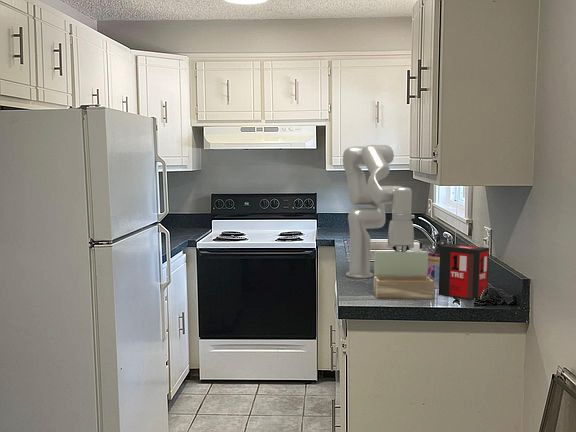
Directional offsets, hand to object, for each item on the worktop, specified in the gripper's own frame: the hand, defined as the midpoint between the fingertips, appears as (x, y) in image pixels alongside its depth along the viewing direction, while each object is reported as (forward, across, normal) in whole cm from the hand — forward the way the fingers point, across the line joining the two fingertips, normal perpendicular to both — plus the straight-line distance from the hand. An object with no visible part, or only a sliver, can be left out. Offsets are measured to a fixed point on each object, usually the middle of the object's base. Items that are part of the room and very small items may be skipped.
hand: (400, 262), depth 248 cm
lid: (0, 0, +2) cm, 2 cm away
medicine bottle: (+13, -21, -64) cm, 69 cm away
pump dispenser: (+13, -30, -47) cm, 57 cm away
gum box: (+13, -19, -10) cm, 25 cm away
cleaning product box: (+13, -24, +7) cm, 28 cm away
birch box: (+12, 0, +7) cm, 14 cm away
